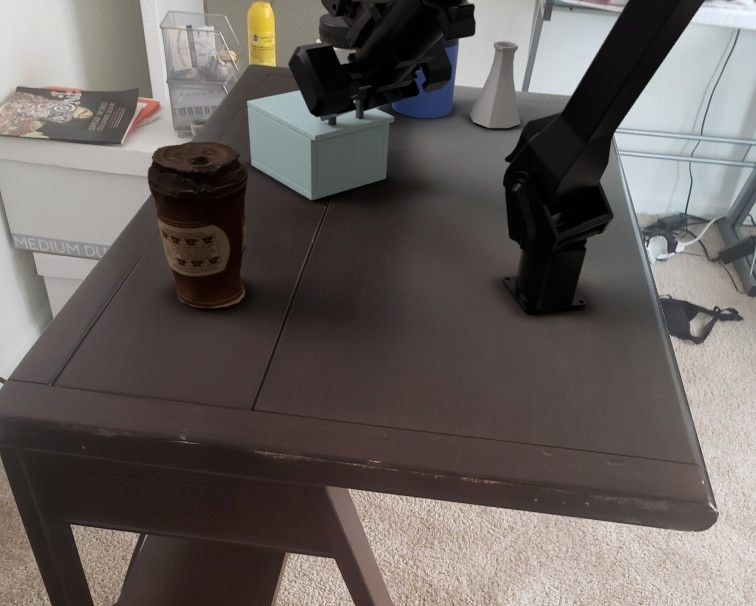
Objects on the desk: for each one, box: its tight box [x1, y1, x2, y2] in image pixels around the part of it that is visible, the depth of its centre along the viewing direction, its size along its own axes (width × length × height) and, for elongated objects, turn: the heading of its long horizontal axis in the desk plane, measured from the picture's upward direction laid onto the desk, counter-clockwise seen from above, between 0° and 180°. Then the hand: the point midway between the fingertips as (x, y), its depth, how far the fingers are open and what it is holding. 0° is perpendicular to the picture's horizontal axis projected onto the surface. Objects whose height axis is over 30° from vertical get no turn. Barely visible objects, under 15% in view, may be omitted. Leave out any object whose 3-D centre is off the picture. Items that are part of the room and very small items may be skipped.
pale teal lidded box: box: [247, 106, 390, 201], centre depth 90 cm, size 13×12×7 cm
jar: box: [315, 12, 380, 110], centre depth 104 cm, size 9×8×12 cm
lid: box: [246, 88, 395, 141], centre depth 86 cm, size 13×12×4 cm
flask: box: [469, 40, 521, 129], centre depth 106 cm, size 7×7×10 cm
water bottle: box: [391, 36, 460, 119], centre depth 103 cm, size 9×9×25 cm
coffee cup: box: [147, 141, 249, 309], centre depth 66 cm, size 9×8×13 cm
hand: (339, 112), depth 85 cm, fingers closed on lid, 5 cm apart
